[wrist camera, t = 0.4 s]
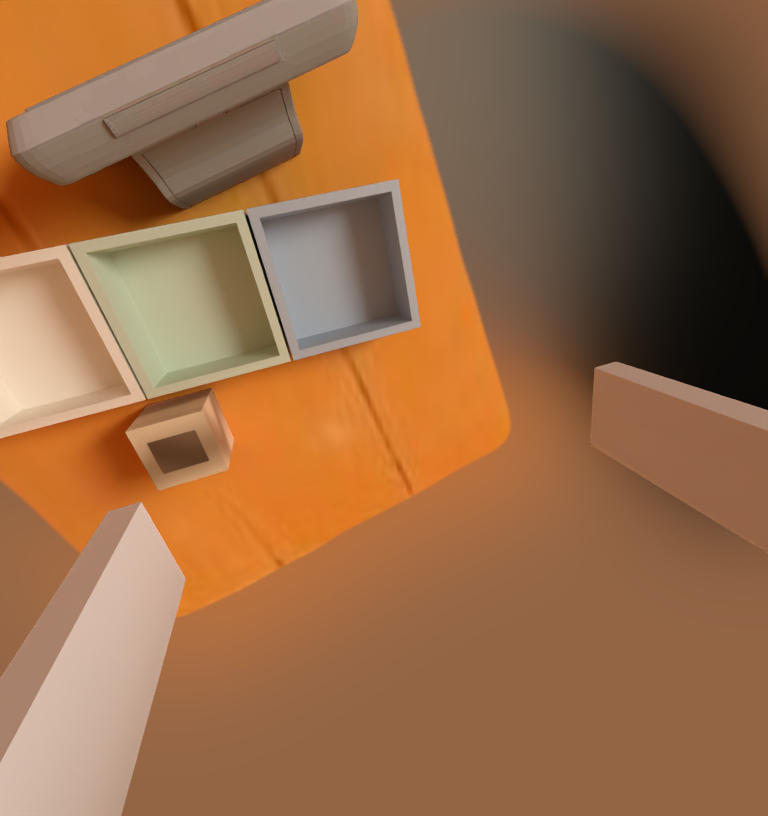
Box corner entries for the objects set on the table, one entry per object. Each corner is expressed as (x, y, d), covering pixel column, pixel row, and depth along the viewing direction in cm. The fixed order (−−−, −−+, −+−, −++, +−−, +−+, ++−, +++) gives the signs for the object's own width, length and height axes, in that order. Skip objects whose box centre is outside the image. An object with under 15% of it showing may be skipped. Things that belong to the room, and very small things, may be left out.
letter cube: (147, 404, 30) (124, 432, 25) (211, 387, 30) (201, 411, 26) (174, 457, 32) (158, 491, 27) (234, 440, 33) (228, 470, 28)
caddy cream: (-73, 278, 23) (-139, 284, 20) (95, 245, 25) (64, 245, 21) (22, 416, 28) (-17, 442, 24) (161, 380, 29) (145, 400, 25)
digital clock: (310, 7, 23) (334, -158, 14) (347, 174, 27) (386, 134, 18) (27, 50, 21) (-178, -114, 11) (112, 226, 25) (13, 212, 15)
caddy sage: (98, 244, 25) (68, 244, 21) (247, 215, 26) (242, 209, 23) (164, 379, 29) (148, 399, 25) (289, 347, 31) (290, 361, 27)
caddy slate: (250, 214, 26) (246, 208, 23) (381, 188, 28) (398, 178, 24) (291, 346, 31) (293, 360, 27) (403, 317, 32) (420, 326, 28)
